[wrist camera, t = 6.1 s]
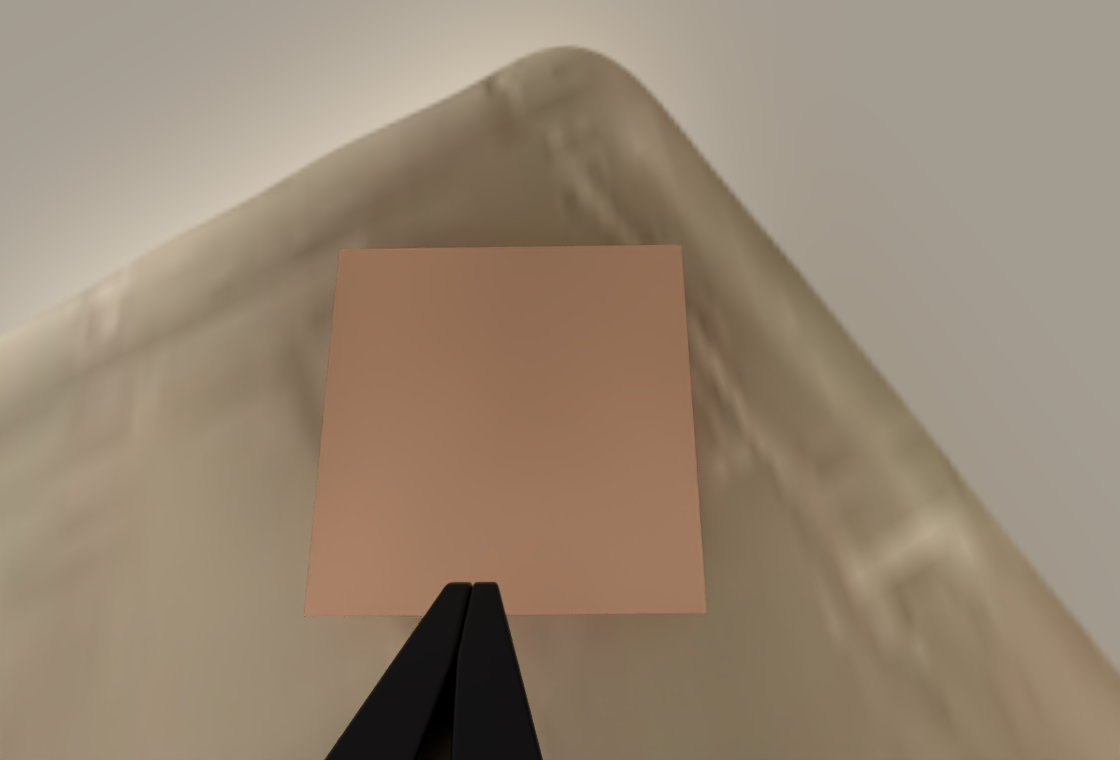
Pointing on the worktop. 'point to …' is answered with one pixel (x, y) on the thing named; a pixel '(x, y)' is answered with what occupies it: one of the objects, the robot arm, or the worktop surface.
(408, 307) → the tile
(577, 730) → the worktop surface
